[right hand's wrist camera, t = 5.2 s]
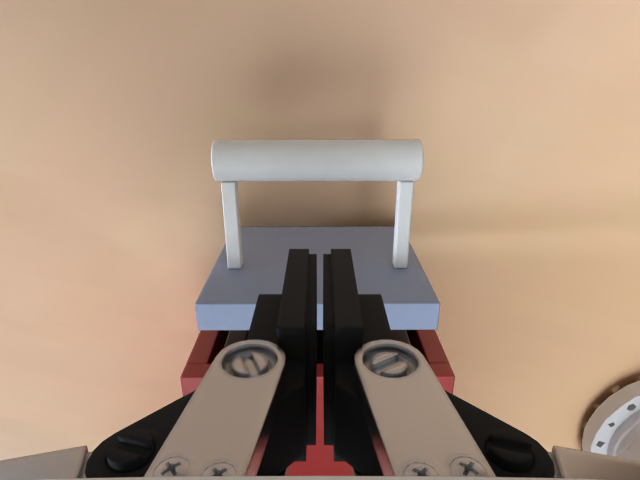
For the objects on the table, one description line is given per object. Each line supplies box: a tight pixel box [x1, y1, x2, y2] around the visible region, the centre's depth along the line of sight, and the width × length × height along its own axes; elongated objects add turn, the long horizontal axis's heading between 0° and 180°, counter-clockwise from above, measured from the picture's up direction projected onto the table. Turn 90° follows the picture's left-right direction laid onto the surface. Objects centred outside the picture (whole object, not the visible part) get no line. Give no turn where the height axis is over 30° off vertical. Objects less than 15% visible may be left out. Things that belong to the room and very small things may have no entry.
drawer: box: [195, 139, 440, 364], centre depth 24 cm, size 26×9×9 cm, turn 0°
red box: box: [181, 330, 455, 476], centre depth 26 cm, size 21×11×10 cm, turn 0°
